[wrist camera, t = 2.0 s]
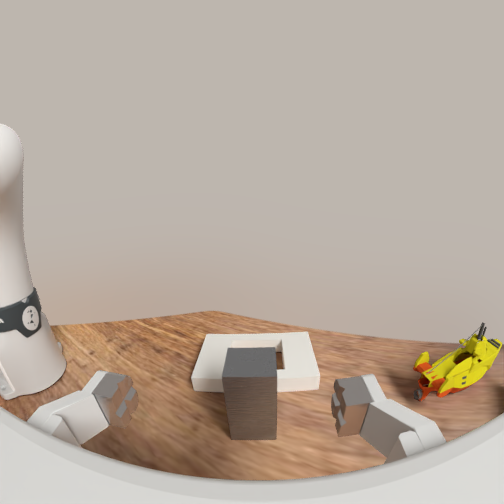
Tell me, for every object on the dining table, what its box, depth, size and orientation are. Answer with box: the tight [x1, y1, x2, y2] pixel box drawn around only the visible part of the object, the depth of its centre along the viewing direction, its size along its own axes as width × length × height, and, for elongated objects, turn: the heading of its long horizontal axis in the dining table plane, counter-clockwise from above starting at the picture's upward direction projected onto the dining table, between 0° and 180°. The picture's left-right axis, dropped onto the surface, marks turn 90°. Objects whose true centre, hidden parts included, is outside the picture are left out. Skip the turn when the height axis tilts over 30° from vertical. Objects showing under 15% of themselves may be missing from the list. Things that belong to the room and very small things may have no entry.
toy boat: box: [413, 323, 502, 402], centre depth 26 cm, size 6×18×10 cm, turn 95°
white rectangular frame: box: [191, 332, 320, 392], centre depth 39 cm, size 17×12×2 cm
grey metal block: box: [222, 347, 277, 440], centre depth 26 cm, size 5×5×10 cm
